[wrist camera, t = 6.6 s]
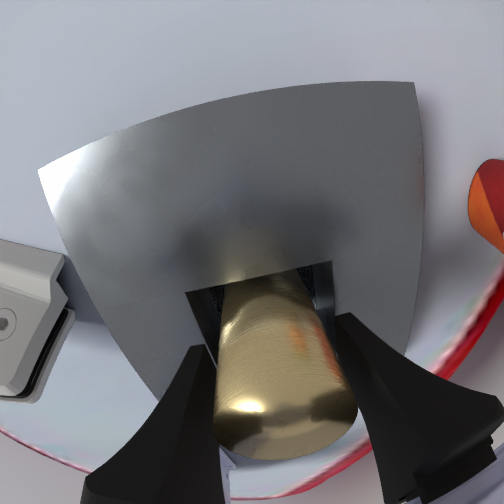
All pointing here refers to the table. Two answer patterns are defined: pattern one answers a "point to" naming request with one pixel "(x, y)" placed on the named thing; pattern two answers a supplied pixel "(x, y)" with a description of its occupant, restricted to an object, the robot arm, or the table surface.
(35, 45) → the table surface
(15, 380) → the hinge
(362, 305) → the block
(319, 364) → the brass pin
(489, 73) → the table surface
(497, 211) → the paper cup
